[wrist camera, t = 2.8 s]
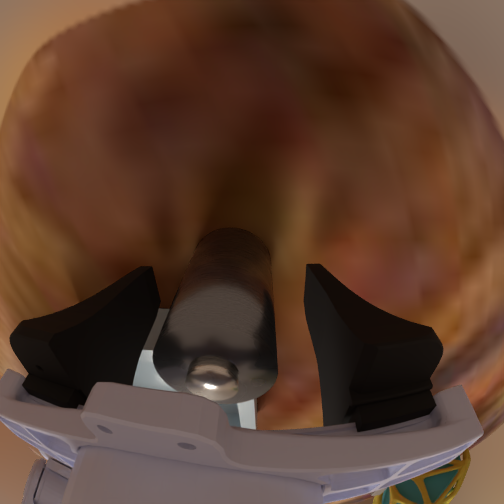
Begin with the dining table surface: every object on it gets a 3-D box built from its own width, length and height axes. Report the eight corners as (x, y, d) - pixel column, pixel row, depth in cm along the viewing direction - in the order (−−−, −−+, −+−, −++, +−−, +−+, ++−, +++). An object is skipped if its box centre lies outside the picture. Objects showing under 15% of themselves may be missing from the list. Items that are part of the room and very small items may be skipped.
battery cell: (199, 295, 15) (165, 412, 8) (189, 229, 13) (130, 336, 7) (270, 294, 15) (276, 417, 8) (270, 226, 13) (281, 342, 6)
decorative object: (378, 469, 42) (411, 506, 31) (314, 513, 29) (355, 562, 17) (451, 405, 36) (491, 445, 24) (414, 449, 23) (471, 509, 11)
